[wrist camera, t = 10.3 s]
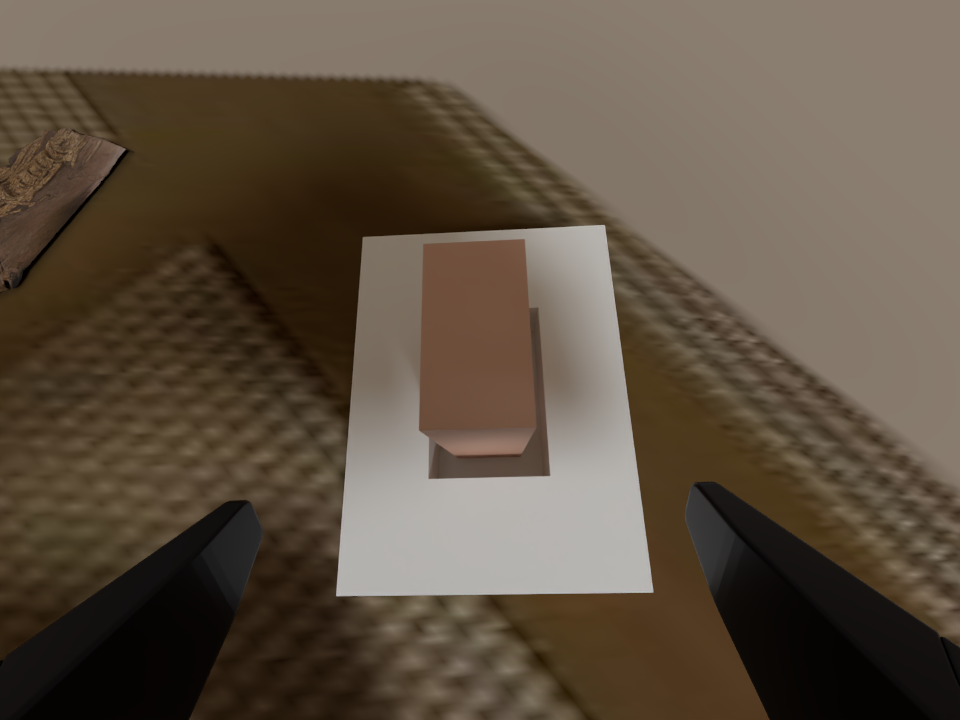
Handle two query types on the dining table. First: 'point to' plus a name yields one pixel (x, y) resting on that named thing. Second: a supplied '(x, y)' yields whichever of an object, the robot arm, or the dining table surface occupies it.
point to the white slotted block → (501, 480)
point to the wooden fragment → (46, 193)
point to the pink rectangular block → (476, 349)
